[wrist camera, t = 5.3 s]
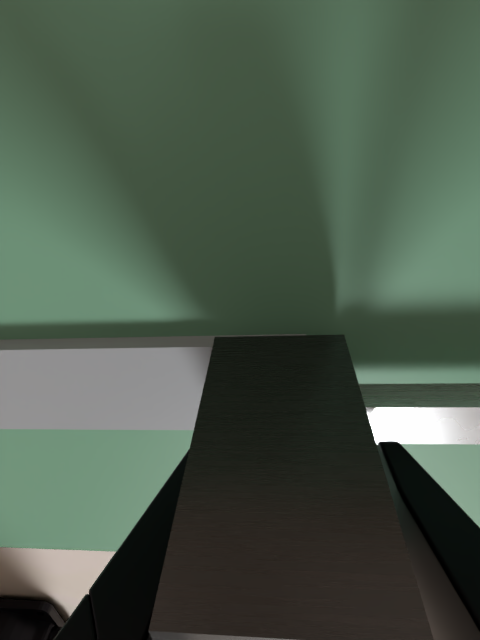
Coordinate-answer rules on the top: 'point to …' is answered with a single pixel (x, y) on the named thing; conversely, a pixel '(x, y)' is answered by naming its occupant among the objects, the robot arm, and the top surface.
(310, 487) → the push rod
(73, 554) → the top surface
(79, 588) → the top surface
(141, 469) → the pitch
